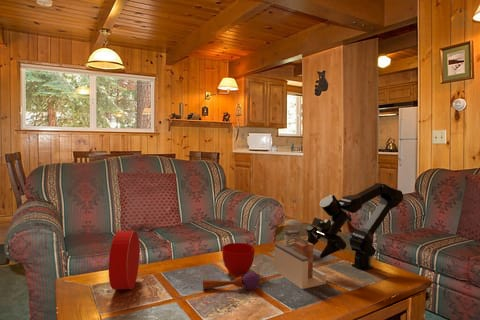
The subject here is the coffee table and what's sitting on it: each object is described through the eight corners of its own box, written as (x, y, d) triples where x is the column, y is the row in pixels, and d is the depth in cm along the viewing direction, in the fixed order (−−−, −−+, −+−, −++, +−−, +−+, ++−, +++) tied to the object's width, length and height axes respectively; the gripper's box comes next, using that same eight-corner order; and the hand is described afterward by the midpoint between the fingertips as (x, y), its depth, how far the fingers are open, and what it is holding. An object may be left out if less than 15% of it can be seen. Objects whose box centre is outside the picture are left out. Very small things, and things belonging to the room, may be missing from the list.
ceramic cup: (252, 262, 147) (252, 240, 146) (255, 279, 130) (255, 253, 129) (222, 262, 146) (222, 239, 146) (221, 278, 129) (221, 253, 129)
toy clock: (124, 275, 131) (123, 224, 130) (139, 275, 132) (139, 224, 130) (108, 300, 111) (108, 240, 110) (127, 299, 112) (126, 240, 110)
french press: (281, 247, 168) (283, 197, 167) (305, 248, 167) (306, 198, 165) (282, 253, 158) (283, 201, 157) (307, 255, 157) (308, 201, 156)
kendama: (203, 274, 124) (257, 270, 125) (204, 291, 123) (259, 287, 124) (202, 278, 118) (259, 273, 119) (203, 296, 117) (260, 291, 118)
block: (304, 273, 134) (305, 236, 133) (312, 277, 129) (313, 240, 128) (294, 275, 131) (295, 238, 130) (301, 280, 127) (302, 241, 126)
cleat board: (296, 266, 143) (297, 240, 143) (325, 283, 126) (326, 254, 126) (274, 270, 139) (274, 243, 138) (301, 289, 122) (302, 259, 121)
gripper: (309, 205, 141) (287, 235, 137) (341, 215, 124) (316, 249, 120) (324, 222, 145) (302, 251, 141) (356, 233, 128) (333, 266, 124)
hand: (312, 254), depth 131 cm, fingers open, 9 cm apart
